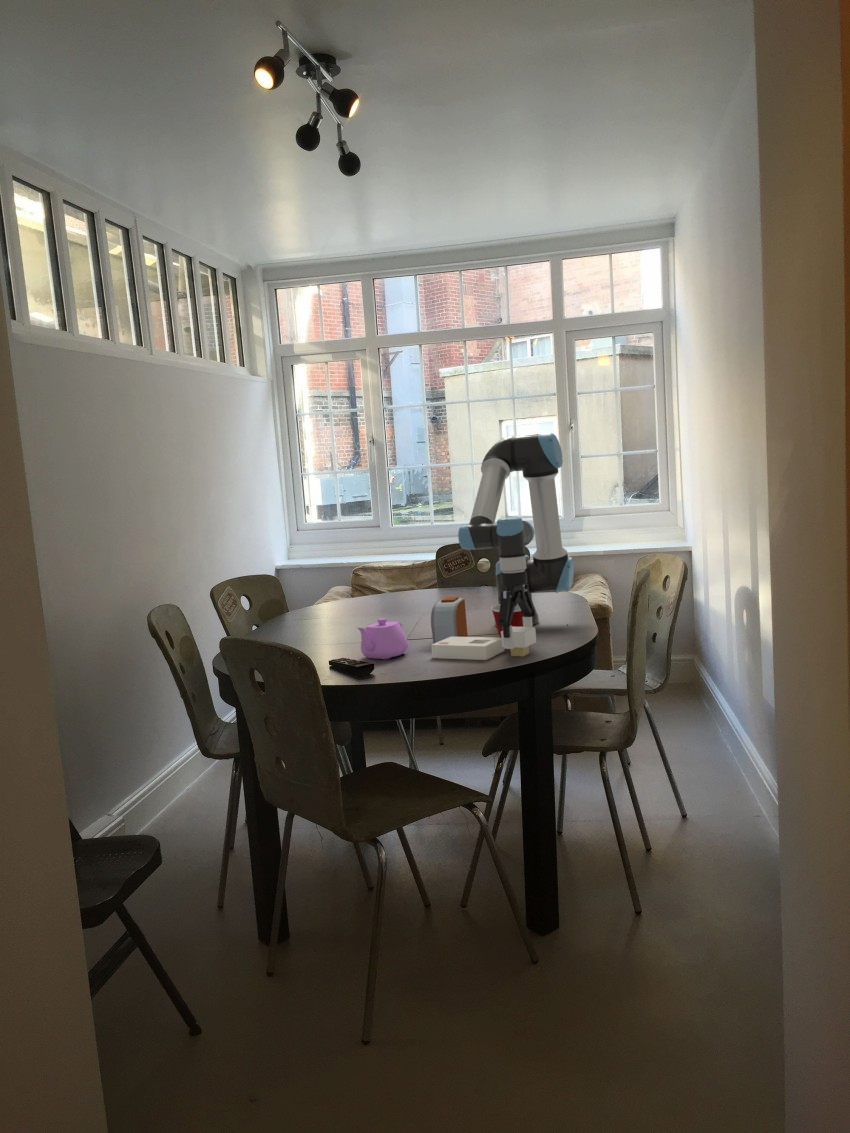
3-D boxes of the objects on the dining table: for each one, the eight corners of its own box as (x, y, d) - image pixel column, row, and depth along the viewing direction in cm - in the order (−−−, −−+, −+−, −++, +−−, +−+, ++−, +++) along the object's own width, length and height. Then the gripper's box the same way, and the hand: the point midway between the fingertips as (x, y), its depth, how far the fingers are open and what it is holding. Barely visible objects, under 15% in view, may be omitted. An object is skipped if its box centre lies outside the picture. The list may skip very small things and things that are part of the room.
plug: (513, 651, 265) (511, 626, 264) (537, 652, 261) (535, 626, 260) (502, 657, 259) (500, 631, 258) (526, 657, 255) (524, 632, 254)
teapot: (387, 649, 286) (384, 613, 285) (420, 651, 278) (416, 614, 276) (345, 663, 270) (341, 624, 269) (378, 666, 262) (374, 626, 261)
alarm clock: (444, 636, 298) (440, 596, 297) (469, 635, 296) (465, 595, 294) (432, 646, 284) (428, 604, 283) (458, 645, 282) (454, 602, 280)
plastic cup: (510, 649, 268) (506, 610, 267) (486, 645, 277) (483, 607, 275) (536, 642, 274) (533, 604, 273) (512, 639, 283) (509, 602, 282)
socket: (451, 649, 276) (450, 636, 276) (504, 650, 267) (503, 637, 266) (432, 658, 266) (431, 644, 266) (486, 659, 257) (485, 646, 256)
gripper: (519, 565, 270) (525, 634, 272) (482, 577, 249) (488, 652, 251) (542, 564, 266) (548, 634, 268) (506, 577, 245) (512, 653, 247)
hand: (519, 643), depth 260 cm, fingers open, 13 cm apart
